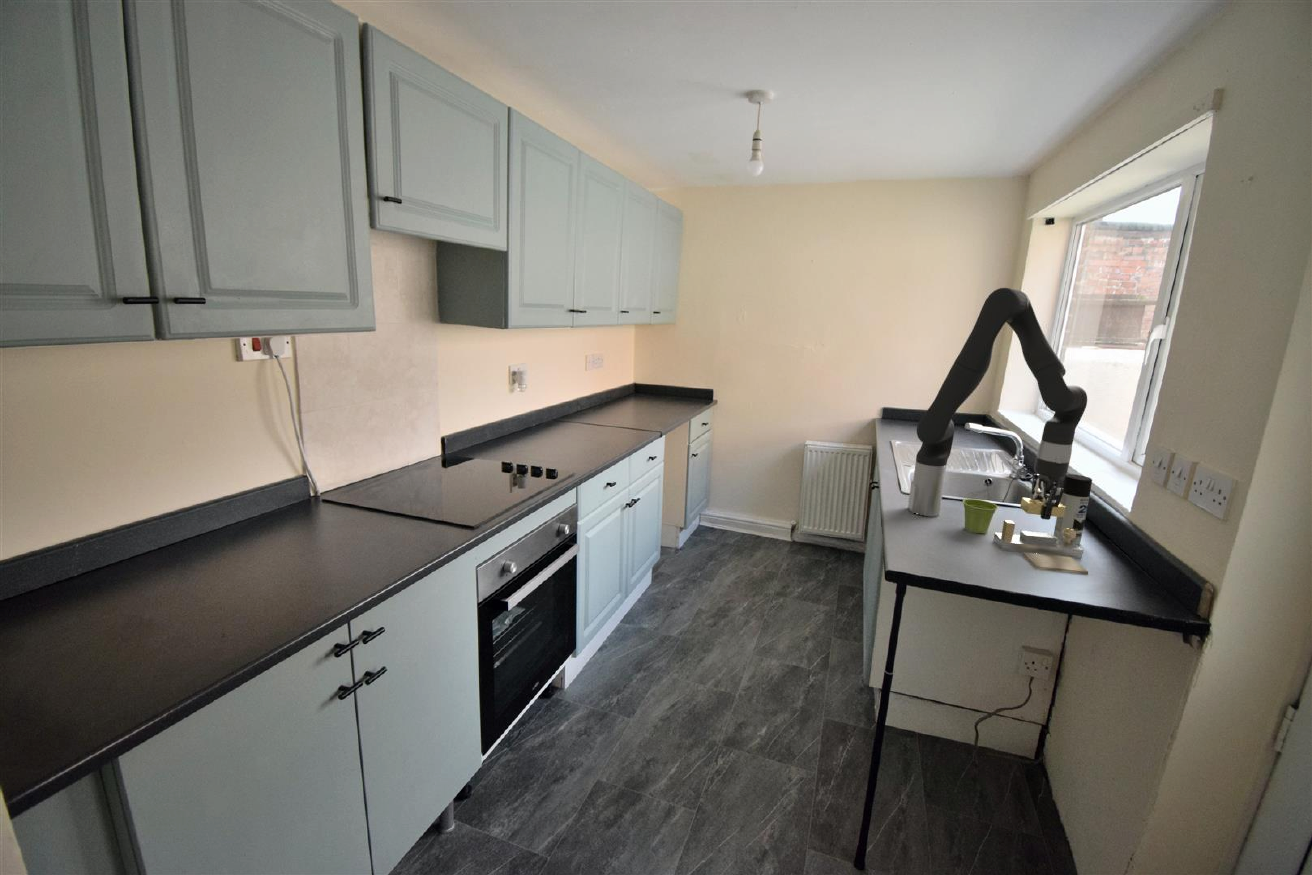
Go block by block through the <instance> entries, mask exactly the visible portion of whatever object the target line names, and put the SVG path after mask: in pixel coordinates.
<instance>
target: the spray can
mask: <svg viewBox="0 0 1312 875" xmlns="http://www.w3.org/2000/svg"><path fill="white" fill-rule="evenodd" d="M1092 484H1093V479H1092V478H1091V477H1090V476H1085V475H1080V474H1074V473H1067V475H1066V476H1065V477H1063V482H1062V487H1061V488H1063V489H1064V492H1063V495H1062V498H1061V500H1060V503H1061V504H1062V505H1063V506H1065V507H1066V508H1065V513H1064V517H1056V520H1055V525H1054V530H1053V535H1054V536H1055V537H1056V538H1057V539H1065V538H1064V537H1063V535H1062V531H1063V530H1064V529H1065V528H1072V529H1074V530H1075V532H1076V537H1075V538H1073V539H1071V540H1072V541H1073V542H1074V543H1075V544H1077V545H1078V546H1079V545H1081V541H1082V536H1083V532H1084V526H1085V520H1086V518H1087V516H1086V515H1087V512H1088V506H1089V501H1090V496H1091V490H1092Z"/></svg>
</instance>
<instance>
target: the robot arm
mask: <svg viewBox="0 0 1312 875" xmlns="http://www.w3.org/2000/svg"><path fill="white" fill-rule="evenodd" d="M1034 310H1035V309H1034V308H1033V304H1032V303H1031V300H1030V298H1029V296H1028V295H1027V294H1026V293H1025V292H1023V291H1021V290H1017V289H1013V288H1008V287H1000V288H997V289H995V290H993V291H991V293H990V294H989V295H988V297H987V298H986V299H985V301H984V303H983V305H982V307H981V310H980V312H979V315H978V317H977V318H976V321H975V324H974V326H973V328H972V330H971V331H970V334H969V335H968V338H967V339H966V340H965V343H964V344H963V346H962V348H961V350H960V352H959V353H958V356H957V357H956V358H955V360H954V362H953V364H952V365H951V367H950V369H949V372H947V375H946V377H945V379H944V381H943V382H942V383H941V387H940V389H939V390H938V393H937V394H936V396H935V399H934V400H933V402H932V403H931V405H930V406H929V408H928V409H927V410H926V412H925V413H924V415H923V416H922V417H921V419H920V420H919V422H918V423H917V426H916V435H917V436H916V437H917V438H918V440H919V441H920V442H921V443H922V444H921V447H920V448H919V450H918V452H917V453H916V457H915V465H914V473H913V478H912V479H913V480H912V481H911V482H910V488H909V495H908V496H909V497H908V503H907V504H908V505H907V509H908V510H909V509H910V510H909V512H910V511H911V512H910V513H911V514H913V513H918V514H920V516H922V515H924V516H923V517H938V516H939V515H940V512H941V506H942V505H941V504H942V500H943V492H944V486H945V478H946V472H947V465H948V459H949V458H950V456H951V453H952V448H953V443H954V438H955V425H954V424H955V423H954V421H953V417H954V416H955V414H956V412H957V411H958V410H959V408H960V407H961V406H962V405H963V404H964V403H965V401H966V400H968V398H969V397H970V396H971V395H972V394H973V393H974V392H975V390H976V389H977V388H978V387H979V385H980V383H981V382H982V380H983V378H984V377H985V375H986V373H987V371H988V370H989V368H990V364H991V360H992V356H993V355H992V354H993V348H994V345H995V344H994V343H995V342H996V339H997V336H998V335H999V333H1000V331H1001V330H1002V328H1003V327H1004V325H1005V324H1007V325H1009V327H1010V328H1011V329H1012V330H1013V332H1014V333H1015V335H1016V336H1017V338H1018V341H1019V344H1020V346H1021V351H1022V355H1023V359H1024V361H1025V363H1026V365H1027V366H1028V368H1029V370H1030V371H1031V374H1032V375H1033V377H1034V378H1035V380H1036V381H1037V382H1036V383H1037V386H1038V389H1039V395H1040V396H1041V399H1042V401H1043V403H1044V404H1045V406H1046V407H1047V408H1048V409H1049V410H1050V411H1052V412H1054V414H1053V415H1052V417H1051V418H1050V419H1048V420H1047V421H1046V422H1045V423H1044V426H1043V431H1042V435H1041V440H1040V443H1039V446H1038V450H1037V454H1036V457H1035V463H1034V466H1033V467H1034V469H1033V471H1034V472H1035V473H1033V474H1032V481H1031V482H1032V483H1031V491H1030V494H1031V495H1032V496H1033V498H1032V499H1042V500H1043V507H1042V512H1041V515H1039V516H1040V519H1042V520H1047V521H1048V520H1051V517H1052V516H1051V513H1052V508H1053V507H1058V506H1059V503H1060V500H1061V498H1062V495H1063V492H1064V489H1063V488H1062V487H1060V479H1061V478H1064V477H1065V476H1066V475H1067V474H1068V470H1069V466H1070V461H1071V457H1072V452H1073V443H1074V439H1075V433H1076V429H1077V426H1078V425H1079V423H1080V421H1081V419H1082V417H1083V414H1084V413H1085V411H1086V408H1087V405H1088V395H1087V392H1086V390H1084V388H1082V387H1080V386H1079V385H1067V384H1066V382H1065V379H1064V376H1065V375H1066V373H1067V372H1066V368H1065V366H1064V364H1063V363H1062V360H1061V359H1060V358H1059V356H1058V355H1057V353H1056V352H1055V350H1054V349H1053V347H1052V345H1051V344H1050V342H1049V341H1048V339H1047V337H1046V335H1045V334H1044V331H1043V329H1042V327H1041V325H1040V323H1039V320H1038V319H1037V315H1036V313H1035V311H1034ZM1047 500H1048V501H1047ZM1055 501H1056V502H1055ZM918 514H917V515H918Z"/></svg>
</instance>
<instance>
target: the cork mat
mask: <svg viewBox="0 0 1312 875" xmlns="http://www.w3.org/2000/svg"><path fill="white" fill-rule="evenodd" d="M1022 556H1023V557H1024V558H1025V559H1026V560H1027V561H1028V562H1029V563H1030V564H1031V565H1032V566H1033V567H1034V568H1035V570H1044V571H1053V572H1060V573H1061V572H1062V573H1070V574H1079V573H1084V574H1083V575H1089V570H1087V569H1086V568H1085V567H1084V566H1083V565H1081V564H1080V563H1079V562H1078V561H1077V560H1075V559H1074V557H1065V556H1055V555H1046V554H1036V553H1026V552H1022Z"/></svg>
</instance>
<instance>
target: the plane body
mask: <svg viewBox="0 0 1312 875" xmlns="http://www.w3.org/2000/svg"><path fill="white" fill-rule="evenodd" d="M1015 526H1016V523H1015V522H1014V521H1013V520H1012V519H1011V520H1010V519H1009V520H1008V519H1004V520H1003V526H1002V530H1001V532H994V535H993V540H992V541H993V542H994V543H995V544H996V545H997V546H998V547H999V549H1001V551H1005V552H1006V551H1008V552H1017V553H1019V552H1020V553H1023V552H1026V553H1037V554H1046V555H1055V556H1065V557H1072V558H1074V557H1077V559H1083V553H1084V549H1083V548H1082V547H1080V546H1079V545H1077V544H1075V543H1074V542H1073V541H1072V540H1071V539H1073V538H1075V537H1076V532H1075V530H1074V529H1072V528H1065V529H1064V530H1063V531H1062V535H1063V537H1064V538H1065V539H1057V538H1056V537H1055V536H1054V533H1049V532H1039V531H1029V530H1028V531H1027V530H1020V533H1019V534H1014V530H1015Z"/></svg>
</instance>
